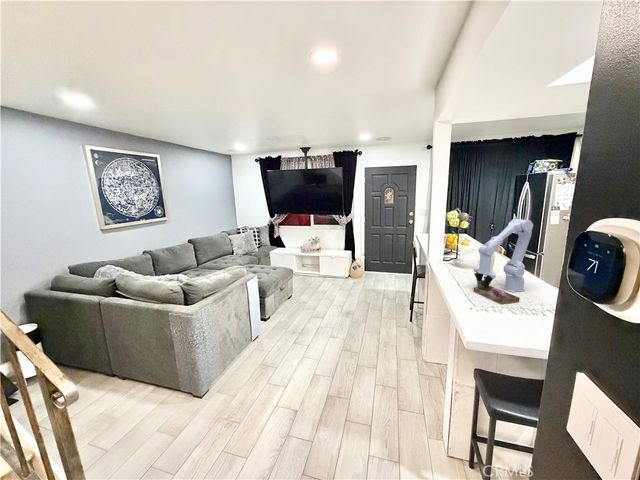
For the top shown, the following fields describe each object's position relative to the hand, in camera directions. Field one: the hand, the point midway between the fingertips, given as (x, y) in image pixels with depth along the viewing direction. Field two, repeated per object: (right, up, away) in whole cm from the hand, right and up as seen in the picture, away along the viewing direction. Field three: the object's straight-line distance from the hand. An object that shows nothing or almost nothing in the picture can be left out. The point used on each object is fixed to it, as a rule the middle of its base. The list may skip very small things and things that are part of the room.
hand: (482, 285), depth 158 cm
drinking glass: (+25, +3, +33) cm, 42 cm away
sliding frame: (+2, -5, -8) cm, 9 cm away
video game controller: (+3, -6, -10) cm, 12 cm away
